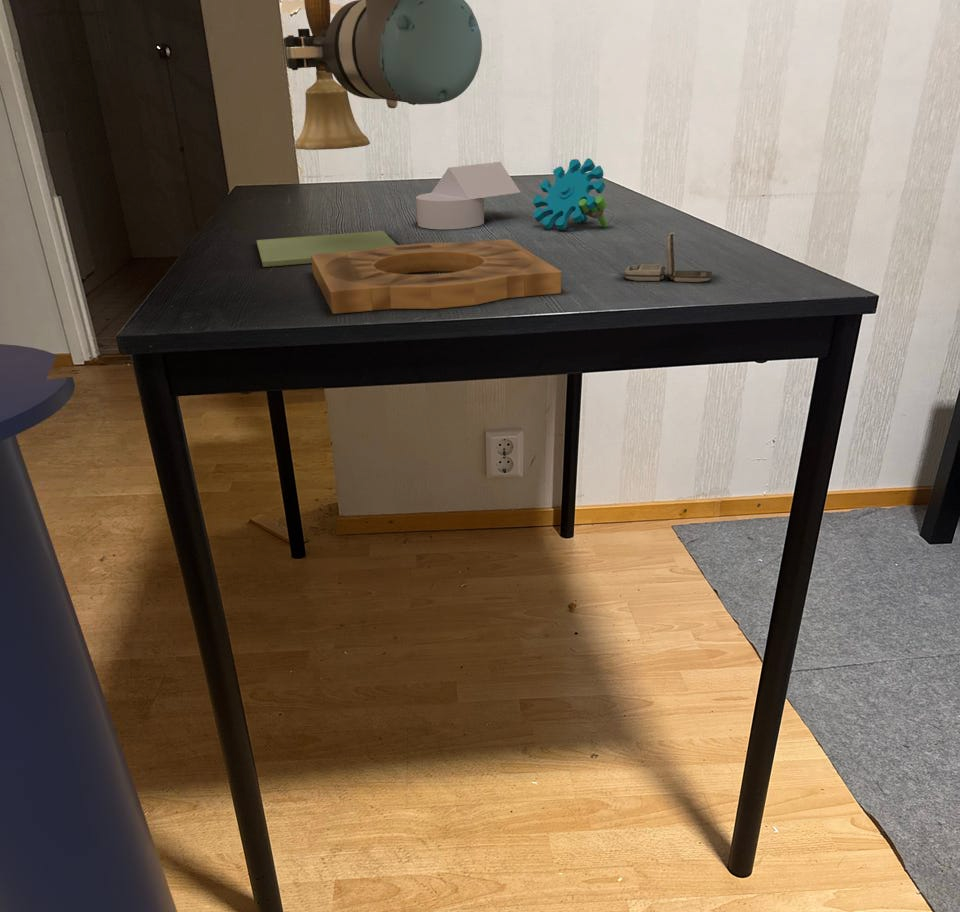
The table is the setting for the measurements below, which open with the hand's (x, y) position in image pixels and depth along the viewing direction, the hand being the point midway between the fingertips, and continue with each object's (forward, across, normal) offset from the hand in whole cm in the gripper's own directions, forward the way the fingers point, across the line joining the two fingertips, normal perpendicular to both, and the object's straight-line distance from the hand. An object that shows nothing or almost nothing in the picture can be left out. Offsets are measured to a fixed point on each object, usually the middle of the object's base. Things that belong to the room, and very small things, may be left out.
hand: (308, 51), depth 96 cm
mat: (-2, -1, -20) cm, 20 cm away
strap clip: (-35, +25, -20) cm, 48 cm away
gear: (-4, +31, -20) cm, 37 cm away
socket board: (-25, +3, -20) cm, 32 cm away
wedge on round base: (+8, +21, -20) cm, 30 cm away
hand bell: (-6, 0, -9) cm, 10 cm away
